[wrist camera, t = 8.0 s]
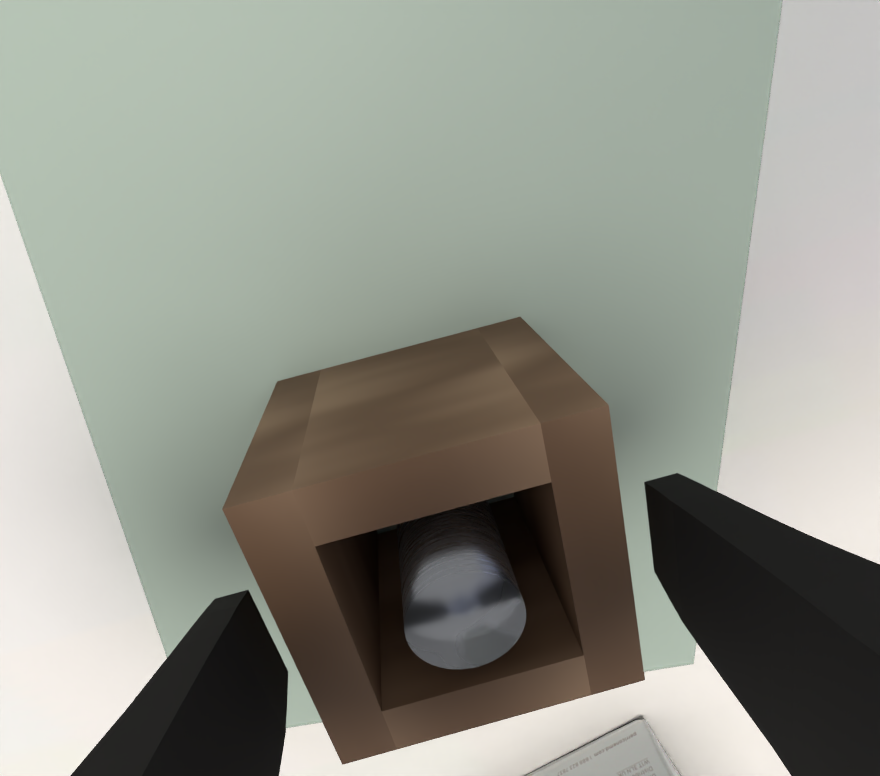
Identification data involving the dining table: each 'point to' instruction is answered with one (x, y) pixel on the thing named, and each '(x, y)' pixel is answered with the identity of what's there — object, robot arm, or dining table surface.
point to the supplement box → (615, 756)
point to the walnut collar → (426, 493)
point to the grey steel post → (458, 588)
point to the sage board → (379, 229)
